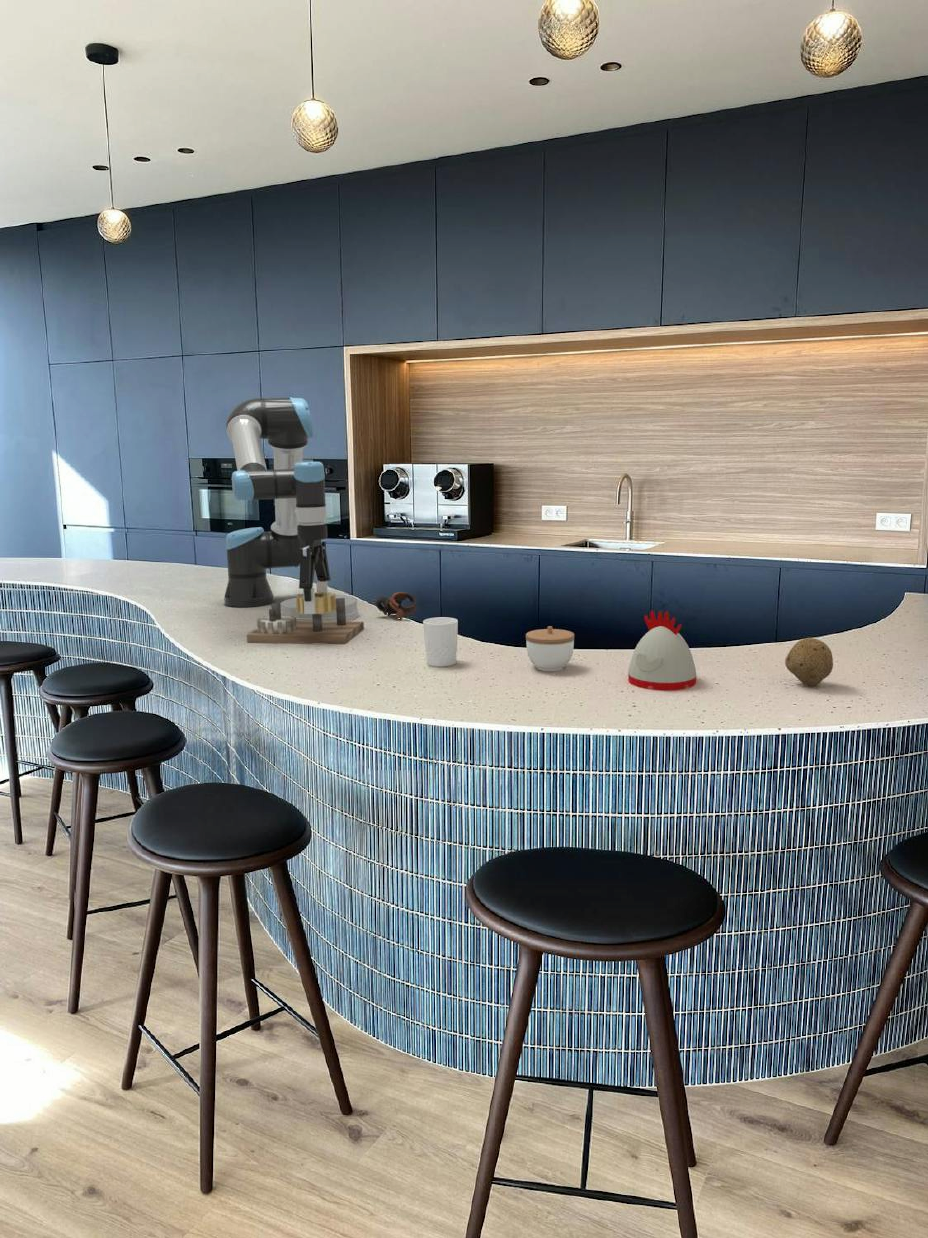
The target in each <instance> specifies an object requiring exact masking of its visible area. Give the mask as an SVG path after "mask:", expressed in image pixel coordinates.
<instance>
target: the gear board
mask: <svg viewBox="0 0 928 1238" xmlns="http://www.w3.org/2000/svg"><path fill="white" fill-rule="evenodd" d="M270 608H271V609H268V615H267V616H263V617H260V618H257V620H256V625H257V628H256V629H254V630H252V631H251V632H248V633H247V634H246V642H247V643H253V644H255V643H256V644H257V643H261V644H262V643H263V644H267V643H268V644H273V643H274V644H312V643H329V644H328V645H345V643H346V644H347V643H348V642H350V641H351V640H352V639H353V638H354V637H356V636H357V635H358V634H359V633H360V632H362V631H363V630H364V628H365V627H364V626H365V624H364V621H355V620H352V621H346V614H345V598H336V615H337V621H322V614H312V621H296V617H293V616H291V615H290V616H285V615H281V602H272V603H270Z"/></svg>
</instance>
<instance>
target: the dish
mask: <svg viewBox="0 0 928 1238" xmlns="http://www.w3.org/2000/svg"><path fill="white" fill-rule="evenodd" d="M335 598H345V614H346V621H351V620H352V621H354V620H356V619H357V618H358V617H359V609H358V601H357V600H358V599H356V597H352V596H347V595H339V594H335ZM280 606H281V615H285V616H290V615H291V616H293V617H296V621H312V614H300V612H299V613H298V612H297V605H296V597H292V598H289V599H285V600H284V601H282V602H280ZM353 619H354V620H353ZM322 621H337V615H336V611H331V612H330V613H323V614H322Z"/></svg>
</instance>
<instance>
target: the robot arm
mask: <svg viewBox="0 0 928 1238" xmlns="http://www.w3.org/2000/svg"><path fill="white" fill-rule="evenodd" d="M311 415H312V414H311V412H310V408H309V405H308V402H307V400H306V399H304V398H300V397H291V396H290V397H266V398H264V397H263V398H259V397H258V398H257V397H256V398H255V397H253V398H250V399H247V400H244V401H242V402H240V403H239V404H238V405H237V406H235V407H234V408H233V409H232V410H231V412H230V413H229V415H228V418H227V420H226V424H225V428H226V435H227V437H228V439H229V441H230V442H231V443H232V447H233V453H234V458H235V464H236V469H237V470H236V471H233V472H232V474H231V485H232V486H231V487H232V495H233V498H234V499H235V500H237V501H257V500H258V501H259V500H274V505H275V506H274V508H275V510H274V513H275V514H274V515H275V516H274V517H275V521H273V522H272V524H271V526H270V531H265V530H264V528H263V527H261V526H259V527H258V526H257V527H249V528H243V529H237V530H234V531H232V532H229V533H228V534H227V535H226V538H225V551H226V558H227V562H226V563H227V577H228V582H227V586H226V589H225V593H224V597H223V600H224V605H225V606H228V607H232V606H233V608H234V607H235V608H248V607H250V608H251V607H252V608H253V607H258V606H265V605H271V604H272V603H274V593H273V591H272V589H271V586H270V584H269V581H268V578H267V570H268V569H269V570H270V569H282V568H283V569H284V568H287V569H288V568H299V581H298V588H299V589H301V590H302V594H303V599H304V614H315V613H316V612H315V594H314V593H315V588H314V587H313V586H314V580H315V579H314V577H315V575H316V579H317V580H316V583H315V584H316V593H319V592H324V593H328V592H329V590H328V582H329V581H331V577H330V576H331V574H330V568H329V562H328V554H327V543H326V541H322V540H326V539H327V538H328V525H327V524H326V522H327V521H328V517H327V516H328V515H327V514H328V513H327V504H326V486H325V483H326V481H325V479H326V478H325V477H326V474H325V468H324V464H323V463H322V462H320V461H304V456H303V452H304V449H305V448H306V447H307V446H308V445H309V444H308V443H309V442H308V439H312V438H313V437H314V431H313V422H312V416H311ZM261 440H267V445H268V446H269V447H270V448H272V449H273V469H267V464H266V460H265V456H264V451H263V447H262V446H263V445H262V443H261Z"/></svg>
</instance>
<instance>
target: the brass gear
mask: <svg viewBox="0 0 928 1238" xmlns="http://www.w3.org/2000/svg"><path fill="white" fill-rule="evenodd" d="M314 594H315V612H316V613H315V614H323V613H330V612H331V611H336V598H335V595H336V593H334V592H329V591H328V593H324V592H319V593H317V592H314ZM295 598H296V605H297V612H298V613H299V612H300V614H304V599H303V593H300V594H297V595H296V596H295Z"/></svg>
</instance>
